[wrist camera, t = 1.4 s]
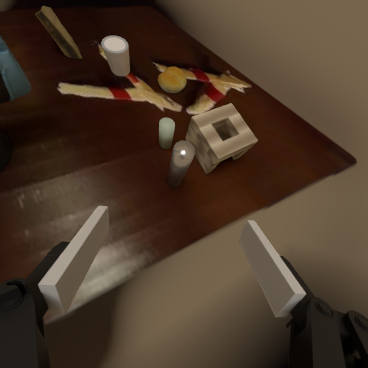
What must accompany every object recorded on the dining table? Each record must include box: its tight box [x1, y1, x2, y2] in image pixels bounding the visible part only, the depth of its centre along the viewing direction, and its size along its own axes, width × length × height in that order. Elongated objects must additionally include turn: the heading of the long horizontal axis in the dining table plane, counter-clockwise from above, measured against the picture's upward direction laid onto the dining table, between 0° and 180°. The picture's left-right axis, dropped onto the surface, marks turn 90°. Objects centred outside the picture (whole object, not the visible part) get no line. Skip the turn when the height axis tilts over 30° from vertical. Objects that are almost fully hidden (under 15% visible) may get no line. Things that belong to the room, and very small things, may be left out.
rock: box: [36, 6, 82, 59], centre depth 45 cm, size 11×9×10 cm
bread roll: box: [158, 67, 186, 93], centre depth 48 cm, size 8×9×4 cm
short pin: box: [159, 118, 175, 149], centre depth 39 cm, size 4×4×8 cm
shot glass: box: [101, 36, 130, 76], centre depth 45 cm, size 7×7×7 cm
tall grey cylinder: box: [167, 141, 195, 187], centre depth 33 cm, size 4×4×16 cm
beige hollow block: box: [186, 103, 258, 174], centre depth 41 cm, size 12×12×9 cm
